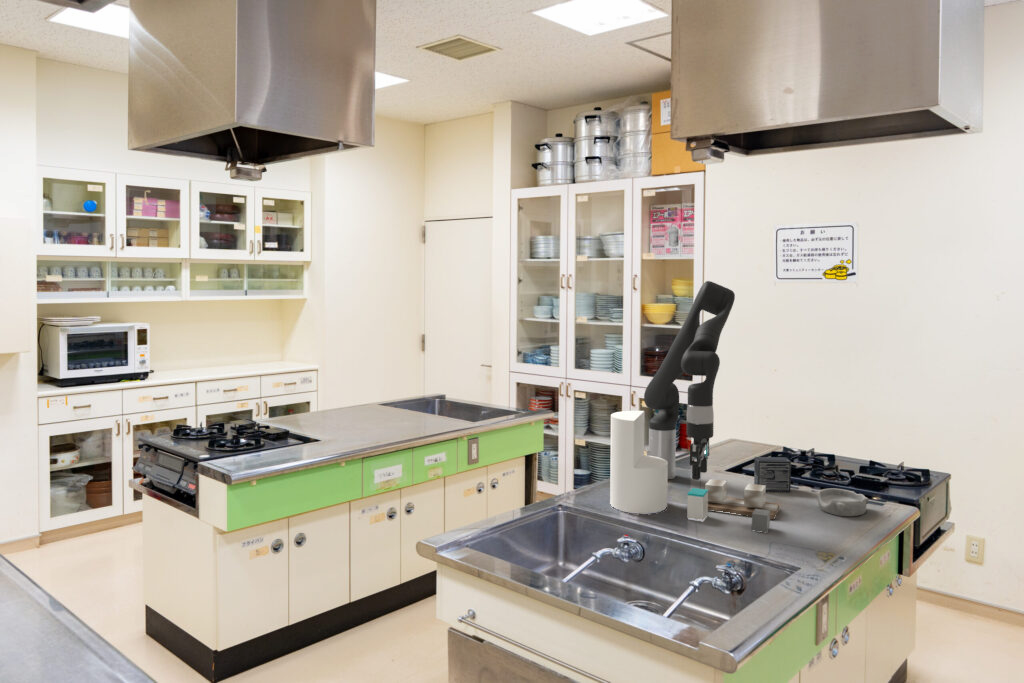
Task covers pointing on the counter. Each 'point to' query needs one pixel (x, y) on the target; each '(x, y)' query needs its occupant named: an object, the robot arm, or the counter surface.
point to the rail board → (746, 506)
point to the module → (697, 503)
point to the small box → (773, 473)
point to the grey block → (760, 520)
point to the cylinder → (635, 467)
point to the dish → (842, 502)
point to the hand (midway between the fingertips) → (699, 475)
